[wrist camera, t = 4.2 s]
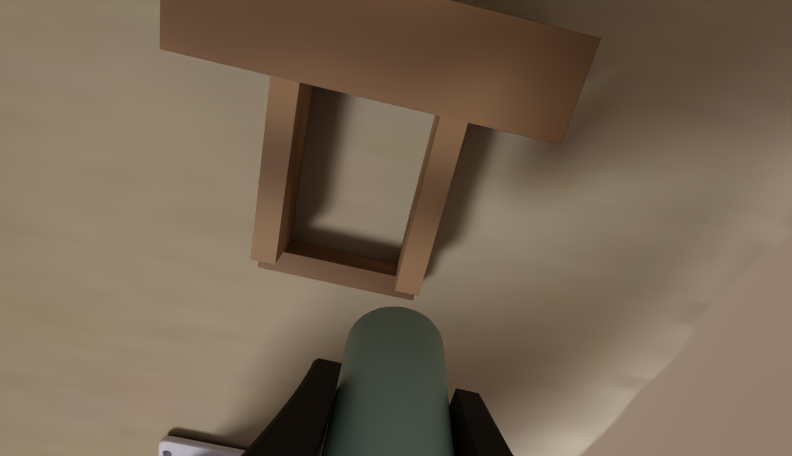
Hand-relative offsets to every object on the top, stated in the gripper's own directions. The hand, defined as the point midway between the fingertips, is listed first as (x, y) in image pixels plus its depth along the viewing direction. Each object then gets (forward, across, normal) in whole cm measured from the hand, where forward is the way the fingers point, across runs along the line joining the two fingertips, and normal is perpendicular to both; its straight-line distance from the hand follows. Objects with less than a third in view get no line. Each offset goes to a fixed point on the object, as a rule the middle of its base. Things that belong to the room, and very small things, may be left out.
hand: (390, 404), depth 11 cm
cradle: (+9, +3, -4) cm, 10 cm away
